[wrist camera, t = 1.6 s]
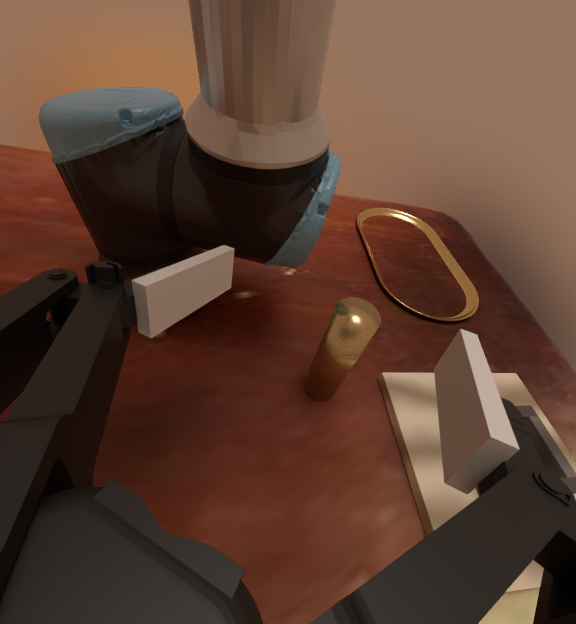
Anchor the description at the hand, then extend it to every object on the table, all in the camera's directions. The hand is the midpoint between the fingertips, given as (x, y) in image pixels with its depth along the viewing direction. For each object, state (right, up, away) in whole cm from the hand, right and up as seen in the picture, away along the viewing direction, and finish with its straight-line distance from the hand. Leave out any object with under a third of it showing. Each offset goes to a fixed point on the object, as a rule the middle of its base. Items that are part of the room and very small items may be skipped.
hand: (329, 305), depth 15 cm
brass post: (+2, -10, +18) cm, 21 cm away
